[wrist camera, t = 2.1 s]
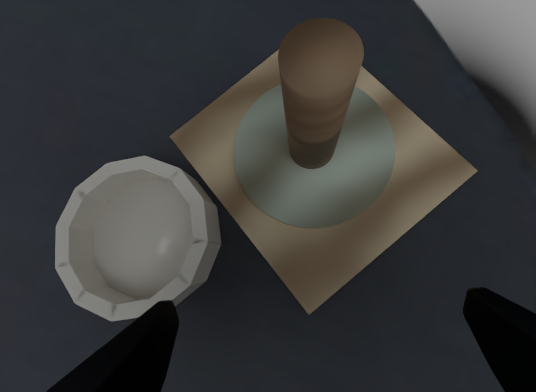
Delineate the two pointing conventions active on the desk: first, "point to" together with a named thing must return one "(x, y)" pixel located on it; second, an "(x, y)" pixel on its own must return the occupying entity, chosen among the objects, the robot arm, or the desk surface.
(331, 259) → the mat
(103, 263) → the bowl
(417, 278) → the desk surface
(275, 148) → the lid
